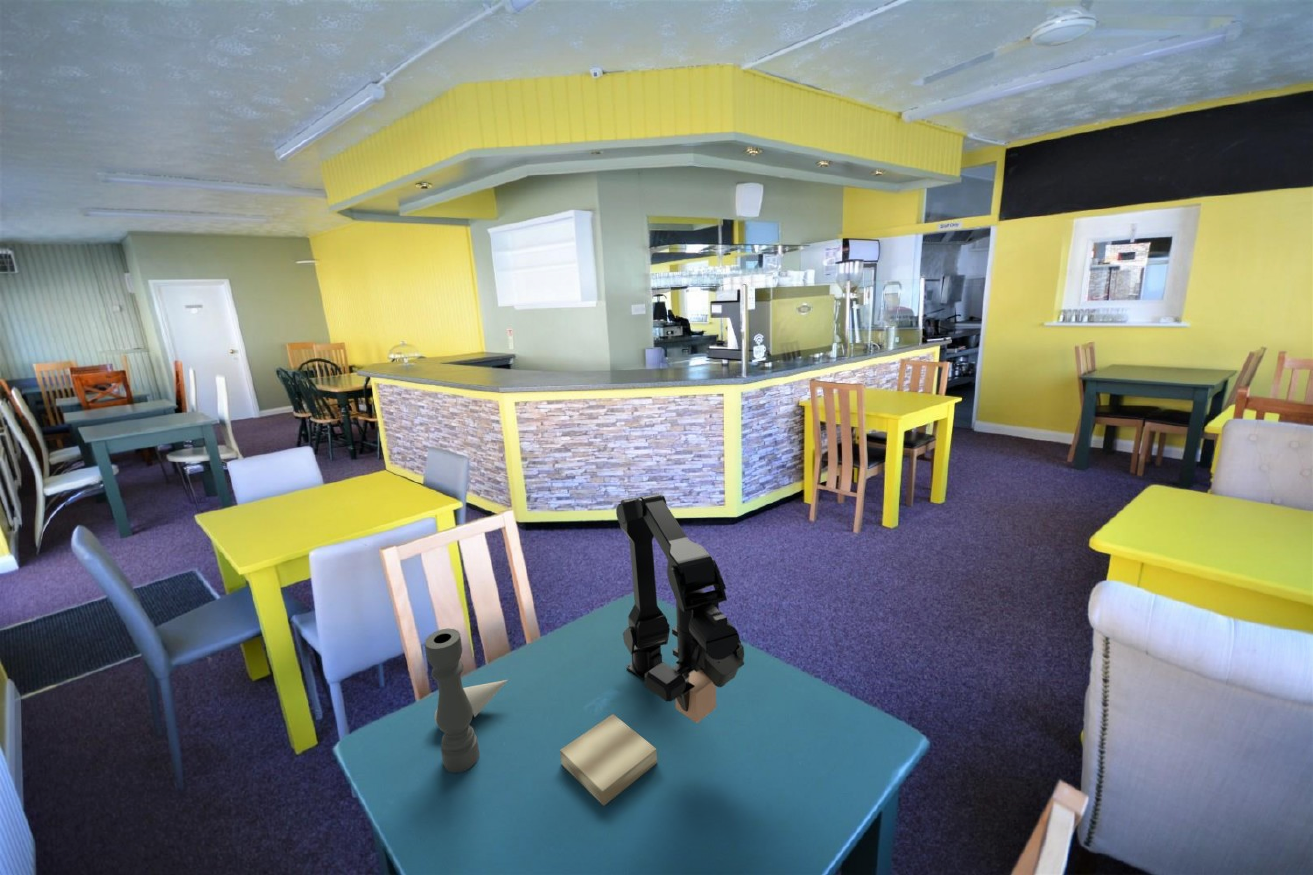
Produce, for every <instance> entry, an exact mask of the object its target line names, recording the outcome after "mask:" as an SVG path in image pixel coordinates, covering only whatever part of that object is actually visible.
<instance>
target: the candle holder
mask: <svg viewBox="0 0 1313 875" xmlns="http://www.w3.org/2000/svg"><path fill="white" fill-rule="evenodd" d="M461 638H462V637H461V632H460V631H459V630H457V629H455V628H442V629H439V630H436V631H434V632H432V633H431V634H429V635H428V636H427V637H426V638H425V641H424V647H425V654H426V660H427V661H428V663H429V664H430V666H431V667H432V670H431V677H432V679H433V680H434V681H435V682H436V683H437V689H438V699H437V700H438V701H437V708H436V710H437V717H436V722H437V724H436V725H437V727H438V729H439V730H440V731H441V732H443V736H442V737H441V750H440V752H441V757H442V762H443V763H442V764H443V767H444V769H445V770H446V772H449V773H455V774H458V773H463V772H465V771H468V770H469V769H471V768H472V767H473V766H474V765H475V764H477V761H478V760H479V759H480V749H479V741H478V737H477V735H476V733H475V732H476V731H475V730H474V728H473V726H472V725H470V724H471V722H472V719H473V717H474V716H473V708H472V706H471V704H470V702H469V700H468V698H467V696H466V693H465V691H464V689H463V688H464V686H463V682H462V677H461V674H462V673H463V671H464V663H463V662H462V661H461V660H460V659H461V657H462V654H463V646H462V639H461ZM436 722H435V723H436Z"/></svg>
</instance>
